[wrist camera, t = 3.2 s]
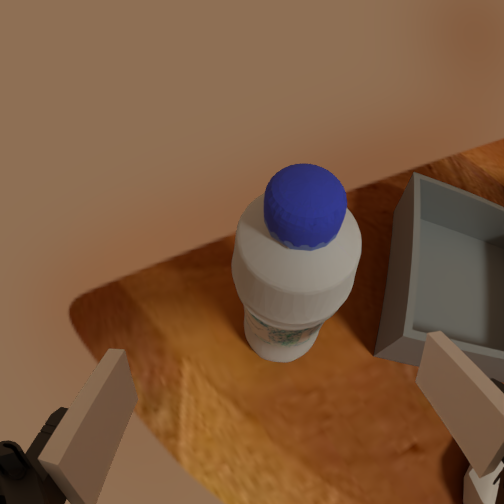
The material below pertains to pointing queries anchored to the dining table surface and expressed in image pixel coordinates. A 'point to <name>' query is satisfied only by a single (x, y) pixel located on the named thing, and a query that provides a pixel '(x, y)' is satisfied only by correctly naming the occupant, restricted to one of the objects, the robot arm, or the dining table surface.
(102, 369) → the robot arm
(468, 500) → the turret
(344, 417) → the dining table surface
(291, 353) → the bottle
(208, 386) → the dining table surface
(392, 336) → the tray
